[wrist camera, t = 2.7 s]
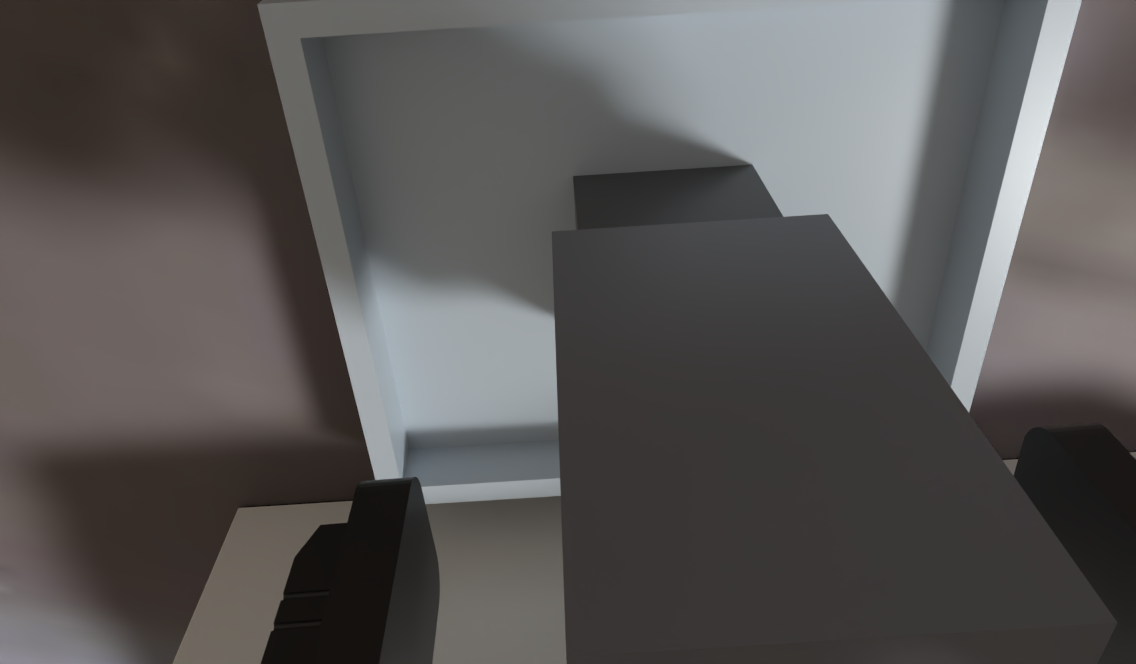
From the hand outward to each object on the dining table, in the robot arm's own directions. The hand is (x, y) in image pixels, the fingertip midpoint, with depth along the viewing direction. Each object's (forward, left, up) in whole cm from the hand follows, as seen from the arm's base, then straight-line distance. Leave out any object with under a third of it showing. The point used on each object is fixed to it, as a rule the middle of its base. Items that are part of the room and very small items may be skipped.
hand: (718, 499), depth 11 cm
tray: (-1, 0, -6) cm, 6 cm away
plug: (-1, 0, -6) cm, 6 cm away
